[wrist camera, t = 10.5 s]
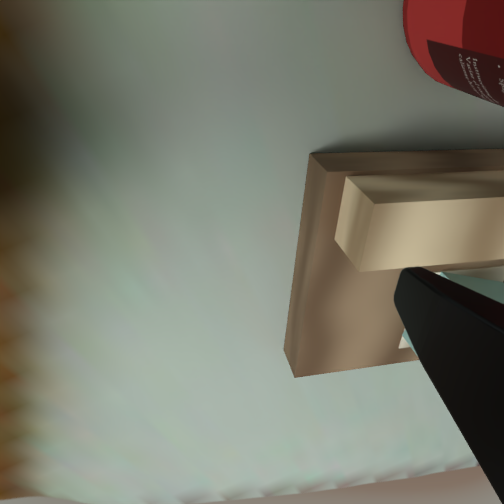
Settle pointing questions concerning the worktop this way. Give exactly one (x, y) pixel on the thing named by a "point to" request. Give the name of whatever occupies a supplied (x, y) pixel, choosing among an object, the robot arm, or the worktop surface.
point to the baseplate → (348, 277)
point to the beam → (421, 219)
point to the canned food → (459, 43)
